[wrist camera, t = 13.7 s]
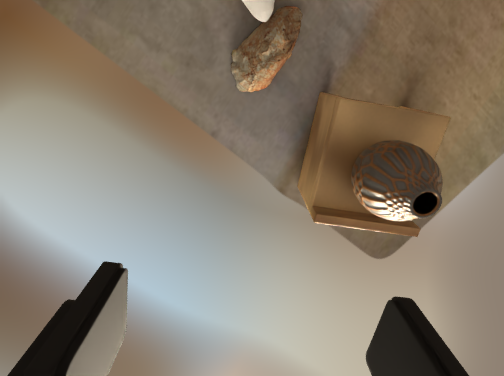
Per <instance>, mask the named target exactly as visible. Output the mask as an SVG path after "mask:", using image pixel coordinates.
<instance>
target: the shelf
mask: <svg viewBox="0 0 504 376" xmlns="http://www.w3.org/2000/svg"><path fill="white" fill-rule="evenodd" d="M450 119H451V117H448V116H443V115H439V114H435V113H430V112H426V111H422V110H417V109H413V108H408V107H403V106H399V108H398V107H393V106H387V105H382V104H376V103H370V102H365V101H359V100H353V99H348V98H344V97H341V96H337V95H333V94H330V93H324V92H320V94H319V98H318V103H317V107H316V111H315V115H314V119H313V124H312V128H311V132H310V136H309V140H308V145H307V149H306V153H305V157H304V161H303V166H302V170H301V174H300V178H299V183H298V189H299V191H300V193H301V195H302V197H303V199H304V201H305V203H306V206H307V208H308V210H309V212H310V214H311V216H312V219H313V221H314V222H315V223H322V224H329V225H336V226H343V227H350V228H358V229H365V230H372V231H379V232H386V233H393V234H401V235H408V236H416V237H417V236H418V234H419V232H420V228H419V227H418V226H417V225H416V224H415V223H414V222H413V221H411V220H409V221H391V220H387V219H384V218H381V217H378V216H376V215H374V214H373V213H371V212H370V211H368V210H367V209H366V208H365V207H364V206H363V205H362V204H361V203H360V201H359V200H358V199H357V197H356V195H355V193H354V191H353V187H352V183H351V173H352V168H353V165H354V163H355V161H356V159H357V158H358V156H359V155H360V154H361V153H362V152H363V151H364V150H365V149H367V148H368V147H370V146H372V145H373V144H376V143H379V142H382V141H388V140H399V141H405V142H408V143H411V144H414V145H416V146H418V147H420V148H422V149H423V150H425V151H426V152H427V153H428V154H429V155H430V156H431V157H432V158H433V159H435V157H436V154H437V152H438V149H439V147H440V144H441V142H442V139H443V137H444V134H445V132H446V129H447V127H448V124H449V122H450Z"/></svg>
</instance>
